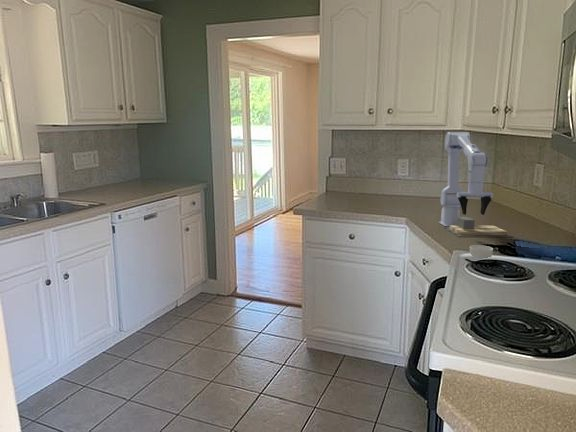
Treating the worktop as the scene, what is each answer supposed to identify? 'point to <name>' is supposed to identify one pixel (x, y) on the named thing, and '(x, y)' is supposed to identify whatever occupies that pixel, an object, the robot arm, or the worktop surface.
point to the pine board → (478, 231)
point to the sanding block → (465, 223)
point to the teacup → (481, 251)
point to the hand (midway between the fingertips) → (473, 214)
